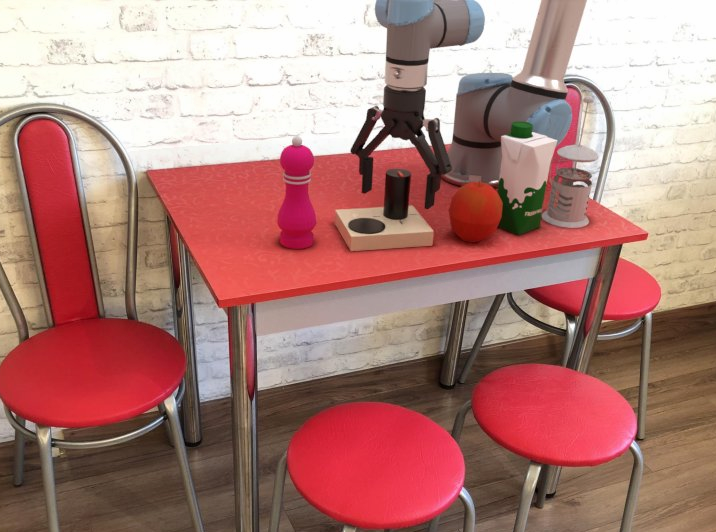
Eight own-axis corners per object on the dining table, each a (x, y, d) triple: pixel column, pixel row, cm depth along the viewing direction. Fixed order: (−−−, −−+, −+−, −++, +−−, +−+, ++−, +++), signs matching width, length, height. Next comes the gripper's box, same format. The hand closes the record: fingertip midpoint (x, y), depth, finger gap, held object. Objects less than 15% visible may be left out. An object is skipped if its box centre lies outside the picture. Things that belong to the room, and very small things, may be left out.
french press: (559, 230, 159) (583, 104, 146) (527, 209, 168) (547, 88, 155) (599, 224, 163) (626, 100, 150) (565, 204, 172) (588, 85, 159)
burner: (379, 218, 153) (379, 216, 153) (389, 232, 147) (389, 231, 147) (344, 220, 151) (344, 218, 151) (353, 235, 146) (353, 233, 145)
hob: (411, 219, 161) (412, 204, 159) (432, 245, 150) (434, 230, 149) (334, 223, 157) (335, 208, 155) (350, 251, 147) (351, 235, 145)
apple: (501, 249, 150) (510, 191, 144) (448, 247, 150) (455, 188, 144) (494, 228, 159) (502, 172, 153) (444, 225, 159) (450, 170, 153)
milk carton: (512, 214, 166) (527, 117, 155) (546, 228, 160) (565, 129, 149) (484, 223, 161) (497, 125, 150) (519, 238, 155) (536, 137, 144)
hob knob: (380, 210, 156) (382, 167, 151) (403, 209, 157) (406, 166, 152) (387, 220, 152) (390, 176, 147) (410, 219, 153) (414, 175, 148)
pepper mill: (310, 252, 145) (312, 144, 135) (272, 247, 146) (271, 140, 136) (320, 237, 151) (322, 132, 141) (283, 232, 152) (282, 128, 142)
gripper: (334, 79, 144) (332, 190, 155) (460, 102, 134) (448, 220, 145) (355, 71, 149) (351, 179, 161) (478, 93, 139) (464, 207, 151)
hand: (397, 199), depth 153 cm, fingers open, 13 cm apart
